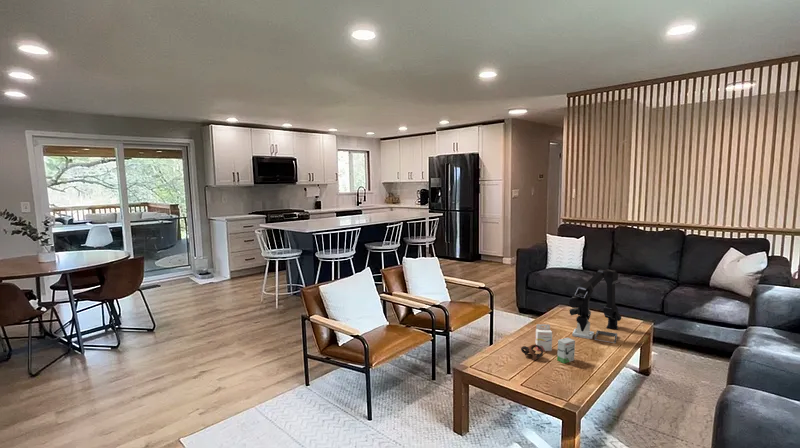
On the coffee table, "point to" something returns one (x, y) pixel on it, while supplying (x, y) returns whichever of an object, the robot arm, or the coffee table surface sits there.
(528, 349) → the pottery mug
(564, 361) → the ink box
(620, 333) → the coffee table surface
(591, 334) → the tray
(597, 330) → the grey flat square frame
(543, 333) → the ink cartridge box
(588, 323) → the cream box grey panel
